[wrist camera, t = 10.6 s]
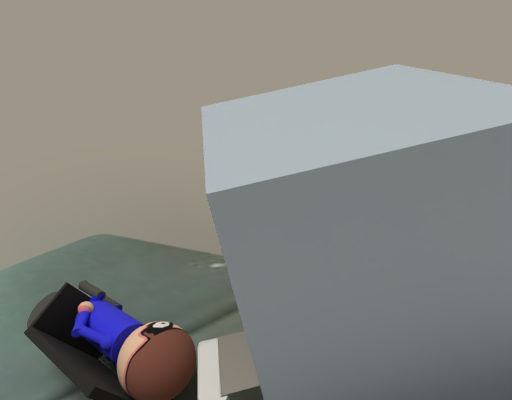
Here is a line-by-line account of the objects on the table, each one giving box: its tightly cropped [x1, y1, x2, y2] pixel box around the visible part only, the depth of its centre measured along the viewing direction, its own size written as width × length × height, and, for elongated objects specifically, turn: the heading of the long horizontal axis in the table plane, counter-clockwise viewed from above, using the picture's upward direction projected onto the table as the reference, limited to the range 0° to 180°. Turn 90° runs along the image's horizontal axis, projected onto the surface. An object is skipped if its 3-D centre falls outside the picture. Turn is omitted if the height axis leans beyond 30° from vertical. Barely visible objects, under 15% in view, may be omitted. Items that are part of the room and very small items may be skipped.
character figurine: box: [24, 281, 196, 400], centre depth 26 cm, size 8×7×15 cm
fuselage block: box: [201, 64, 512, 400], centre depth 9 cm, size 4×4×14 cm
